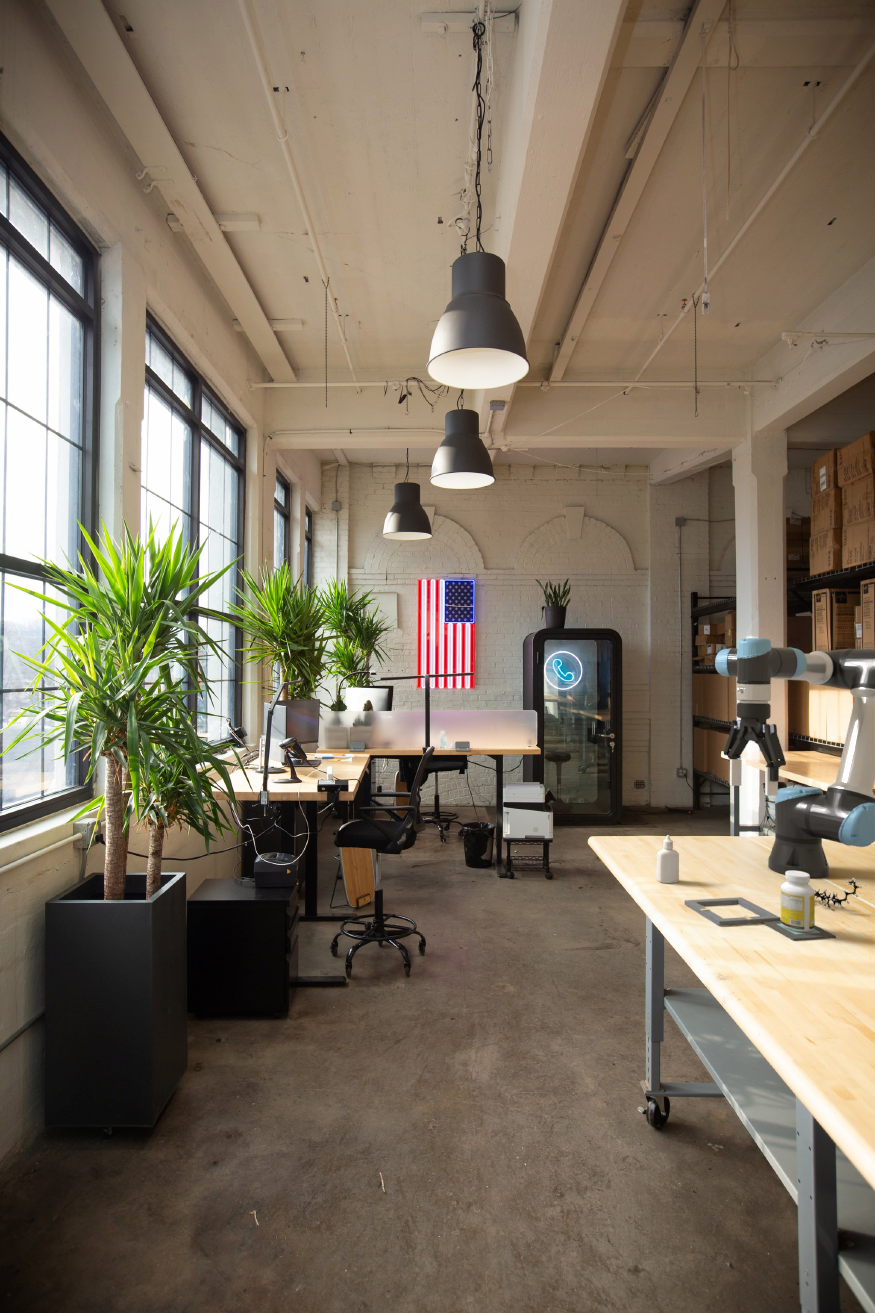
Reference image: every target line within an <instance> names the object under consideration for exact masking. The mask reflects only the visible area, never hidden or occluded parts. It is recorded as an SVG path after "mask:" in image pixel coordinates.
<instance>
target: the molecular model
mask: <svg viewBox="0 0 875 1313" xmlns="http://www.w3.org/2000/svg"><path fill="white" fill-rule="evenodd" d="M808 884H809V885H810V886H811V884H810V883H808ZM845 884H847V885H848V886H852V887H853V891H852V892H848V891H846V889H843V890H842V891H843V892H844V894H845V897H844V898H842V899H840V898H839V897H838V892H835V891H832V892H828V894H827V888H825V889H824V891H823V892H820V890H821V889H820V888H817V890H816V889H814V888H813V889H814V892H815V899H818V898H820V904H821V907H823V908H824V907H827V908H828V909H830V910H832V909H833V908H836V906H835V905H837V907H840V908H843V904H842V902H844V903H847V904H848V905H849V904H850V902H849V900H848V896H849V895H853V896H854V897H856V898H858V897H859V896H858V894H857V889H862V888H863V886H860V885H859V886H858V885H857V879H856V878H855V877H852V879H851V881H848V880H845ZM831 893H832V897H831ZM830 901H832V907H831V905H830ZM824 902H825V904H824Z"/></svg>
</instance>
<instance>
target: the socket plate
mask: <svg viewBox="0 0 875 1313" xmlns="http://www.w3.org/2000/svg"><path fill="white" fill-rule="evenodd" d="M723 905H724V906H725V905H727V906H728V905H739V906H741V907H743V908H744V909H747V910H748V911H750V912H752V913H754V914H756V916H748V915H743V916H741V917H729V918H728V917H727V918H725V917H722V916H720V915H718V914H716V913H715V912H713V911H712V910H711V909H710V908H707V906H723ZM684 906H686V907H688V908H690V909H691V910H693V911H694V912H695V913H698V914H699V915H701V916H702V917H703V918H706V919H707V920H709V921H710V922H713V923H714V924H715V925H717V926H718V927H725V926H741V925H744V926H745V925H756V924H757V925H758V924H763V923H762V921H778V920H781V916H778V915H776V914H774V913H773V912H771V911H769V910H767V909H765V908H763V907H761V906H760V905H757V904H755V903H753V902H752V901H749V900H747V899H745V898H744V897H741V896H739V897H737V896H736V897H724V898H723V897H722V898H721V897H720V898H705V899H685V900H684ZM757 915H758V916H757Z"/></svg>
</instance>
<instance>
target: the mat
mask: <svg viewBox="0 0 875 1313" xmlns="http://www.w3.org/2000/svg"><path fill="white" fill-rule="evenodd" d="M761 924H763V925H765V926H767V927H768V928H770V929H772V930H774V931H776V932H778V933H779V934H780V935H783V936H785V937H786V938H788V939H790V940H792V941H793V942H794V941H797V942H798V941H807V940H808V941H809V940H821V939H822V940H823V939H835V938H837V936H836V935H835V934H833V933H831V932H830V931H828V930H825V929H823V928H821V927H819V926H817V925H815V927H814V930H812V931H810V932H797V931H792V930H789V929H787V928H785V927H783V926H782V924H781V920H778V921H762V923H761Z"/></svg>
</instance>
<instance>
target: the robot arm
mask: <svg viewBox="0 0 875 1313" xmlns="http://www.w3.org/2000/svg"><path fill="white" fill-rule="evenodd" d="M714 660H715V661H714V662H715V664H714V666H715V669H716V671H717V673H718V674H719V675H720V676H722V677H730V678H734V677H735V678H737V679H736V680H737V681H736V684H737V685H736V700H737V701H739V702H737V703H736V717H737V718H738V719H732V720H731V724H730V725H731V727H730V730H729V735H728V737H727V741H726V744H725V747H724V750H723V755H724V756H727V758H728V759H729V786H731V787H732V786H733V787H735V786H737V787H738V786H742V771H743V770H742V769H743V768H742V754H743V752H744V750H745V749H746V747H747V745H748V743H749V742H750V741H751V742H754V743H755V744H756V745H757V747H758V748H759V750H760V752H761V754H762V756H763V758H764V760H765V762H766V765H765V767H764V768H765V769H764V770H765V774H764V775H765V776H764V777H765V779H764V781H765V783H764V787H765V788H764V791H765V792H764V794H765V796H775V801H774V806H775V807H774V810H775V811H774V813H775V814H774V816H775V817H774V818H775V820H774V821H775V822H774V824H775V825H774V827H775V828H774V832H775V833H774V834H775V835H774V838H775V839H774V843H773V845H772V849H771V851H770V854H769V857H768V859H767V861H768V864H767V867H768V868H769V869H770V870H772V871H774V872H777V873H778V874H783V875H785V872H786V871H801V872H805V873H808V874H809V875H810V879H812V878H815V879H816V878H825V877H828V876H829V874H830V866H829V863H828V859H827V856H826V853H825V850H824V848H823V840H826V841H827V840H828V841H831V842H836V843H839V844H843V845H845V846H849V847H851V846H852V847H858V848H865V847H868V846H870V845H872V844H873V843H875V794H874V792H873V790H874V785H875V648H845V649H842V648H841V649H836V650H826V651H825V650H824V651H820V650H814V651H812V652H810V653H804V652H803V651H802V650H800V649H798V648H794V647H791V646H789V647H774V646H772V641H771V640H770V639H769V638H763V637H762V638H761V637H757V638H756V637H752V638H751V637H750V638H748V637H746V638H741V639H738V641H737V648H733V647H730V648H725V649H721V650H720V651H719V652H717V654H716V656H715V659H714ZM772 679H774V680H787V681H788V680H789V681H790V680H791V681H806V682H808V683H809V684H811V685H815V686H817V685H819V686H824V687H830V688H835V689H841V690H848V691H849V690H850V691H849V693H850V694H851V696H852V697H853V698H854V700H853V701H854V702H853V706H852V709H851V714H850V718H849V724H848V727H847V731H846V736H845V741H844V744H843V749H842V754H841V758H840V762H839V765H838V771H837V775H836V777H835V778H836V779H835V782H833V783H832V784H830V785H828V786H827V790H826V792H825V793H826V794H824V791H823V789H822V788H821V787H816V786H814V787H813V786H796V787H795V786H793V787H791V786H790V787H783V788H779V786H778V784H779V778H780V768H781V767H782V766H786V764H787V761H786V758H785V754H784V752H783V749H782V748H783V747H782V745H781V742H780V739H779V735H778V728H777V724H776V723H767V720H769V719H770V718H771V715H772V714H771V712H772V711H771V710H772V709H771V708H772V707H771V706H772V705H771V704H770V703H769V702H770V701H771V700H772V686H771V682H772V681H771V680H772ZM778 788H779V789H778Z"/></svg>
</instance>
